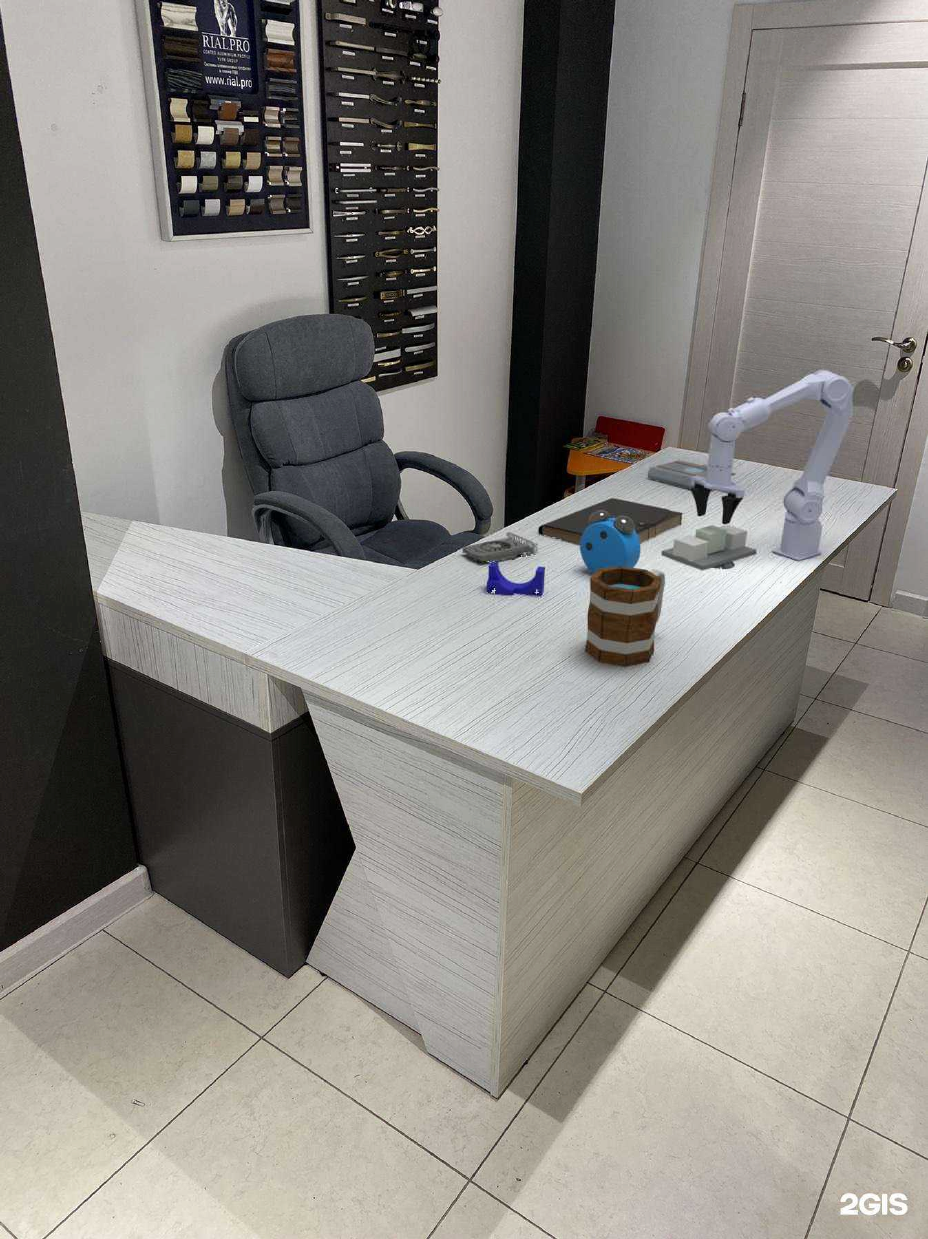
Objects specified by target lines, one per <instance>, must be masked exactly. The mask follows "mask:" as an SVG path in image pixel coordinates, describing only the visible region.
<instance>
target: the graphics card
mask: <svg viewBox="0 0 928 1239" xmlns="http://www.w3.org/2000/svg"><path fill="white" fill-rule="evenodd" d="M538 546H539V543H538V542H535V543H534V541H531V540H530V539H527V538H526V537H525V538H524V537H523V536H520V535H518V534H515V533H513V532H511V531H508V532H506V537H504V538H500V539H495V540H490V541H485V542H480V543H477V544H471V545H467V546H463V547H462V553H464V554H466V555H468V556H469V557H470V558H473V559H476V560H479V561H482V562H486V561H489V562H493V561H497V562H500V561H499V560H502V561H504V560H503V559H506V560H509V559H508V558H511V559H513V558H512V557H516V558H517V557H518V556H520V555H522V557H526V555H527V556H531V554H533V555H534V556H537V555H536V554H538V551H539V550H538V548H539V547H538ZM517 554H519V555H517ZM531 557H532V556H531ZM485 560H486V561H485ZM479 561H478V562H479Z"/></svg>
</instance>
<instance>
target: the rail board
mask: <svg viewBox="0 0 928 1239" xmlns="http://www.w3.org/2000/svg"><path fill="white" fill-rule="evenodd" d="M673 548H674V547H671V548H668V549H664V550H662V551H661V555H662V556H664V557H667V558H670V559H672V560H674V559H675V561H677V562H680V563H683V564H685V565H688V566H691V567H694V568H696V569H698V568H699V569H698V570H702V571H706V570H708V569H711V568H714V567H718V566H721V565H725V564H728V563H730V561H731V562H734V561H737V560H740V559H744V558H748V557H750V555H751V556H753V555H756V554H757V551H758V550H757V549H754V548H752V547H750V546H749V547H748V546H746V545H745V546H744V547H741V548H737V549H734V550H729V549H727V547H725V548H724V550H720V551H717V552H713V553H710V554H707V558H704V559H700V560H697V561H693V562H691V561H688V560H685V559H683V558H684V557H683V558H680V557H681V556H680V557H679V556H674V555H673Z"/></svg>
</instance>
